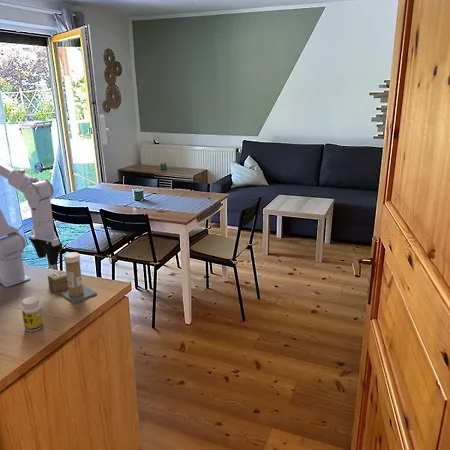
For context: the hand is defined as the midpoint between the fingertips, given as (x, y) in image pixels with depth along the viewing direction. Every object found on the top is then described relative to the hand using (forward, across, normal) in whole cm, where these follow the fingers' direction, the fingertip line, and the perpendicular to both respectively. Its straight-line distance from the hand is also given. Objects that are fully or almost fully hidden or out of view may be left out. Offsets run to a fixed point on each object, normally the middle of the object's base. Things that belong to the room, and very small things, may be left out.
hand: (47, 260), depth 133 cm
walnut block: (+10, 0, +2) cm, 11 cm away
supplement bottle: (+10, +17, -13) cm, 24 cm away
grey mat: (+10, +9, +4) cm, 14 cm away
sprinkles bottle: (+10, +9, +4) cm, 14 cm away
